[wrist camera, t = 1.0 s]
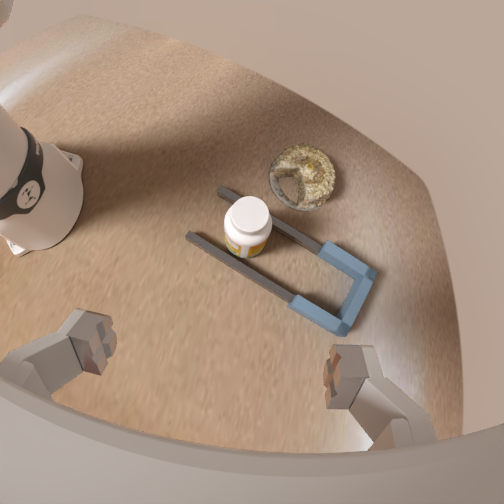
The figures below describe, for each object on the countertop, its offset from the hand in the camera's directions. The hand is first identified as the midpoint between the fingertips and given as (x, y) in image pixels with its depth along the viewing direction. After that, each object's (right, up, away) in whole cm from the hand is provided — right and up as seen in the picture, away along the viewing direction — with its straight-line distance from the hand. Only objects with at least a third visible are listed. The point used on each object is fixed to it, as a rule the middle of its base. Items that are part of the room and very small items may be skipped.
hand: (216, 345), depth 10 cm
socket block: (+11, -2, +29) cm, 31 cm away
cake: (+9, +14, +33) cm, 37 cm away
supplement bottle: (0, +5, +30) cm, 31 cm away
